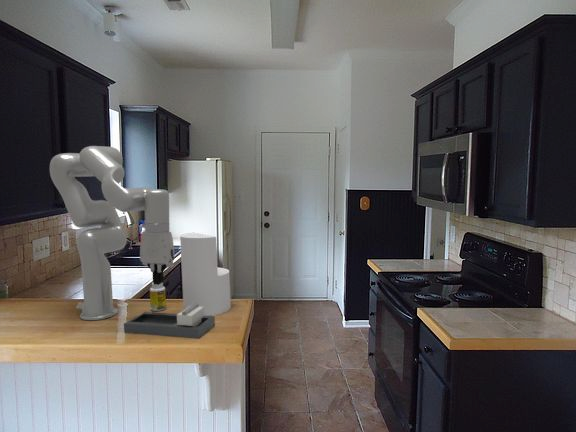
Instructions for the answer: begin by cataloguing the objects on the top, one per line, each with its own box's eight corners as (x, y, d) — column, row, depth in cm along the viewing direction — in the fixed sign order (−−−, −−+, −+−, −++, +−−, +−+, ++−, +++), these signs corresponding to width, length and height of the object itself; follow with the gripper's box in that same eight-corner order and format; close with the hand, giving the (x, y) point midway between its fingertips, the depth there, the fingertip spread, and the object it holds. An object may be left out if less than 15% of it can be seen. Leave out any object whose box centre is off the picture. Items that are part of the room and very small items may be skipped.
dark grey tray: (124, 332, 138) (123, 323, 137) (145, 320, 149) (144, 311, 149) (198, 338, 131) (198, 328, 131) (214, 324, 143) (214, 316, 143)
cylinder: (197, 319, 149) (193, 239, 146) (175, 308, 162) (172, 234, 159) (239, 308, 160) (236, 234, 157) (215, 299, 173) (213, 230, 170)
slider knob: (177, 329, 135) (176, 311, 134) (190, 319, 143) (189, 303, 143) (192, 330, 133) (191, 312, 133) (204, 320, 142) (203, 303, 141)
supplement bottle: (158, 312, 158) (157, 285, 157) (147, 310, 160) (146, 283, 159) (169, 308, 162) (168, 281, 161) (158, 306, 165) (157, 280, 164)
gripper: (129, 228, 136) (131, 284, 138) (172, 230, 132) (173, 288, 135) (143, 225, 143) (144, 278, 145) (184, 227, 140) (184, 282, 142)
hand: (158, 283), depth 140 cm, fingers closed
